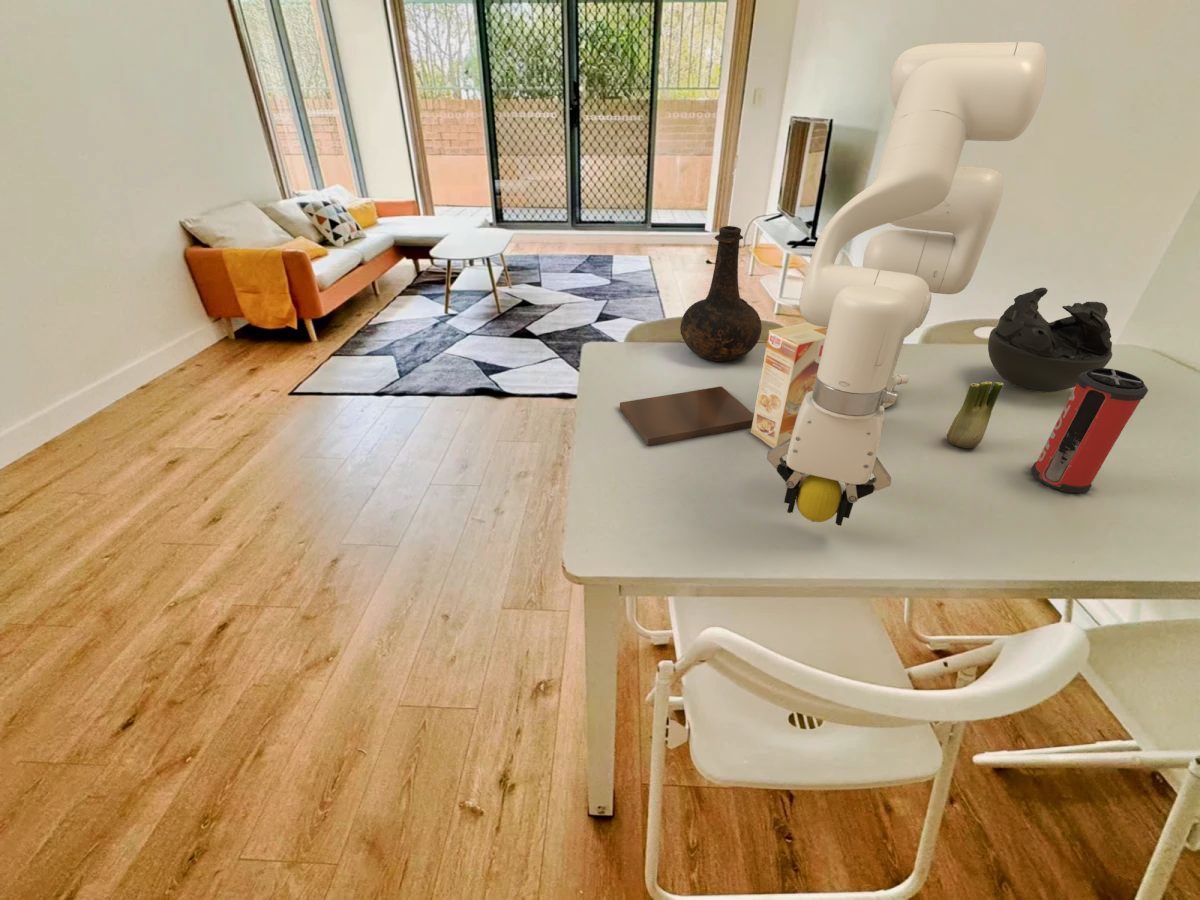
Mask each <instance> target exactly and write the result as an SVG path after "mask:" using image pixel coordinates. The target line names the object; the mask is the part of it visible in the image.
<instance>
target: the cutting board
mask: <svg viewBox="0 0 1200 900" xmlns="http://www.w3.org/2000/svg"><path fill="white" fill-rule="evenodd" d="M619 410H620V412H621V413H622V414H623V416H624V417H625V418H626V420H627V421H628V423H630V425H631V426H632V428H633V429H634V430H635V431H636V433H637V434H638V435H639V436H640V438H641V439H642V441H643V442H644V443H645V444H646V446H647V447H649V446H654V445H655V446H656V445H661V444H665V443H671V442H676V441H683V440H688V439H692V438H698V437H703V436H704V437H705V436H710V435H715V434H720V433H727V432H729V431H730V432H732V431H736V430H742V429H747V428H752V423H753V418H754V413H753V412H752V411H751V410H750V409H748V408H747V407H746V406H745V405H744V404H743V403H742V402H740V401H739V399H737V398H736V397H735V396H734V395H732V394H731V393H730V392H729V391H728V390H726V388H724V387H723V386H722V385H721V386H714V387H708V388H702V389H696V390H690V391H689V390H688V391H684V392H677V393H671V394H665V395H659V396H653V397H647V398H639V399H634V400H626V401H620V402H619Z"/></svg>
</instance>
